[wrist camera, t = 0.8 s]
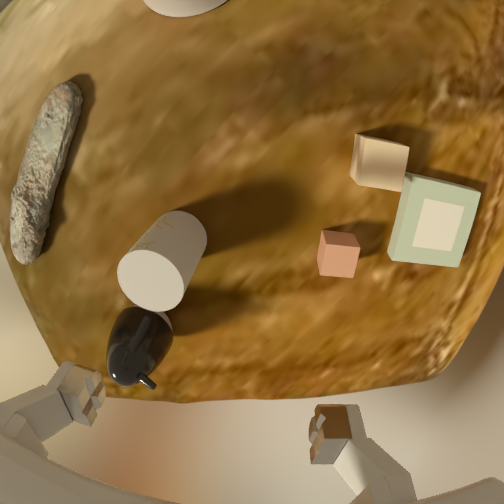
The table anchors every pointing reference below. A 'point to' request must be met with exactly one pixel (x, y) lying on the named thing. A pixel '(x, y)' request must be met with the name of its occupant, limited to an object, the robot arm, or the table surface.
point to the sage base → (432, 221)
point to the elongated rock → (42, 170)
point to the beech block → (379, 162)
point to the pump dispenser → (138, 345)
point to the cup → (163, 261)
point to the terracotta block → (338, 254)
